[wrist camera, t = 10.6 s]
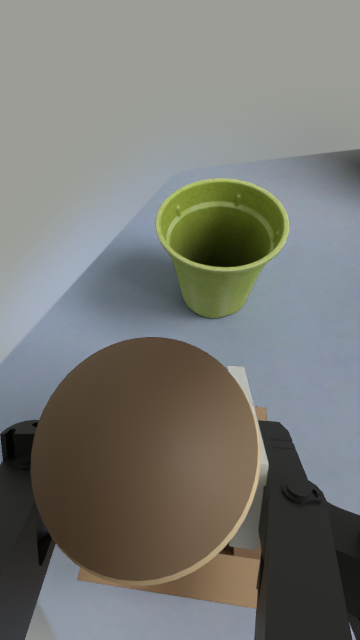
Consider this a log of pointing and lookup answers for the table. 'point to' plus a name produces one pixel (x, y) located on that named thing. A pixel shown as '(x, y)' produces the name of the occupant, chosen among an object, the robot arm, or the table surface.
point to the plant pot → (220, 240)
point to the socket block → (212, 574)
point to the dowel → (145, 461)
